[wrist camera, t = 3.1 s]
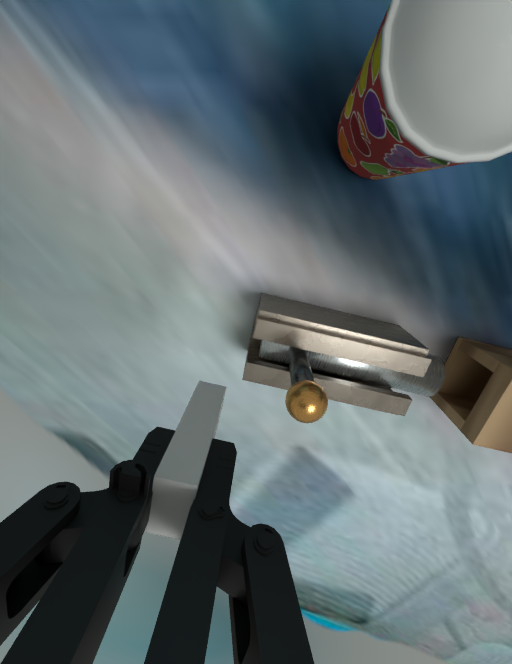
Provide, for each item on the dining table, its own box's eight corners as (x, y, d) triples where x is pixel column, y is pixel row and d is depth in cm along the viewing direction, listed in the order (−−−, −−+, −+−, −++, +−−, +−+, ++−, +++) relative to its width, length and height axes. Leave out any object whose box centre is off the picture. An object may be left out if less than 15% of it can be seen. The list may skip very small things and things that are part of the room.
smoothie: (448, 87, 23) (1220, -494, 4) (404, 202, 26) (751, 154, 7) (343, 57, 23) (685, -710, 4) (310, 177, 26) (419, 58, 7)
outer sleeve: (247, 351, 31) (241, 384, 25) (261, 292, 29) (259, 312, 23) (376, 381, 32) (402, 420, 26) (399, 325, 30) (434, 354, 23)
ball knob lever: (259, 347, 30) (251, 428, 18) (268, 311, 29) (266, 374, 17) (413, 383, 30) (502, 484, 19) (429, 349, 29) (536, 435, 17)
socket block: (428, 395, 32) (472, 444, 25) (458, 336, 30) (516, 372, 23) (481, 408, 32) (539, 459, 25) (515, 350, 30) (590, 389, 23)
